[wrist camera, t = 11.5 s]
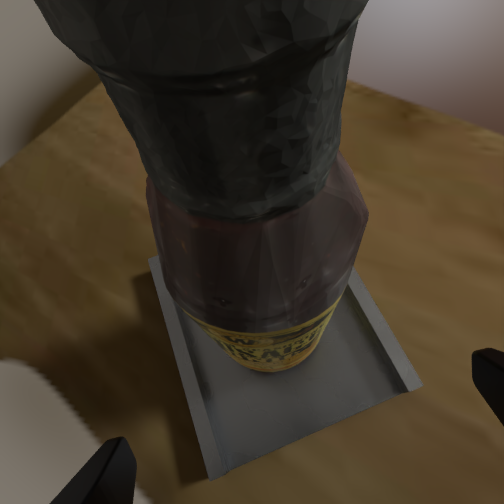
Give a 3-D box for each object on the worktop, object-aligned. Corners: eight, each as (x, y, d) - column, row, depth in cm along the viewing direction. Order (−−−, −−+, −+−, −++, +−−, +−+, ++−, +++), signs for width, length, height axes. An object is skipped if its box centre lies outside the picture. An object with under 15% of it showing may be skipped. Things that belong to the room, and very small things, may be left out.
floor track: (413, 387, 19) (423, 385, 17) (217, 475, 18) (209, 481, 17) (309, 207, 24) (309, 192, 23) (158, 269, 24) (147, 259, 22)
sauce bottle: (210, 364, 20) (-460, 16, 2) (232, 268, 23) (-12, -261, 5) (322, 386, 19) (702, 1, 1) (332, 281, 21) (506, -365, 4)
